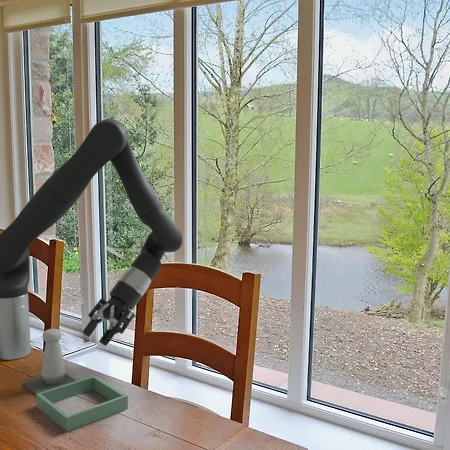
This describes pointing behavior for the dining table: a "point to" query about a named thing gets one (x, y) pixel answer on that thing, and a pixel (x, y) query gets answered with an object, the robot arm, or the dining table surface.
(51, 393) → the square frame
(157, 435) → the dining table surface
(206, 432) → the dining table surface
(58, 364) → the salt shaker
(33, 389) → the rubber mat
